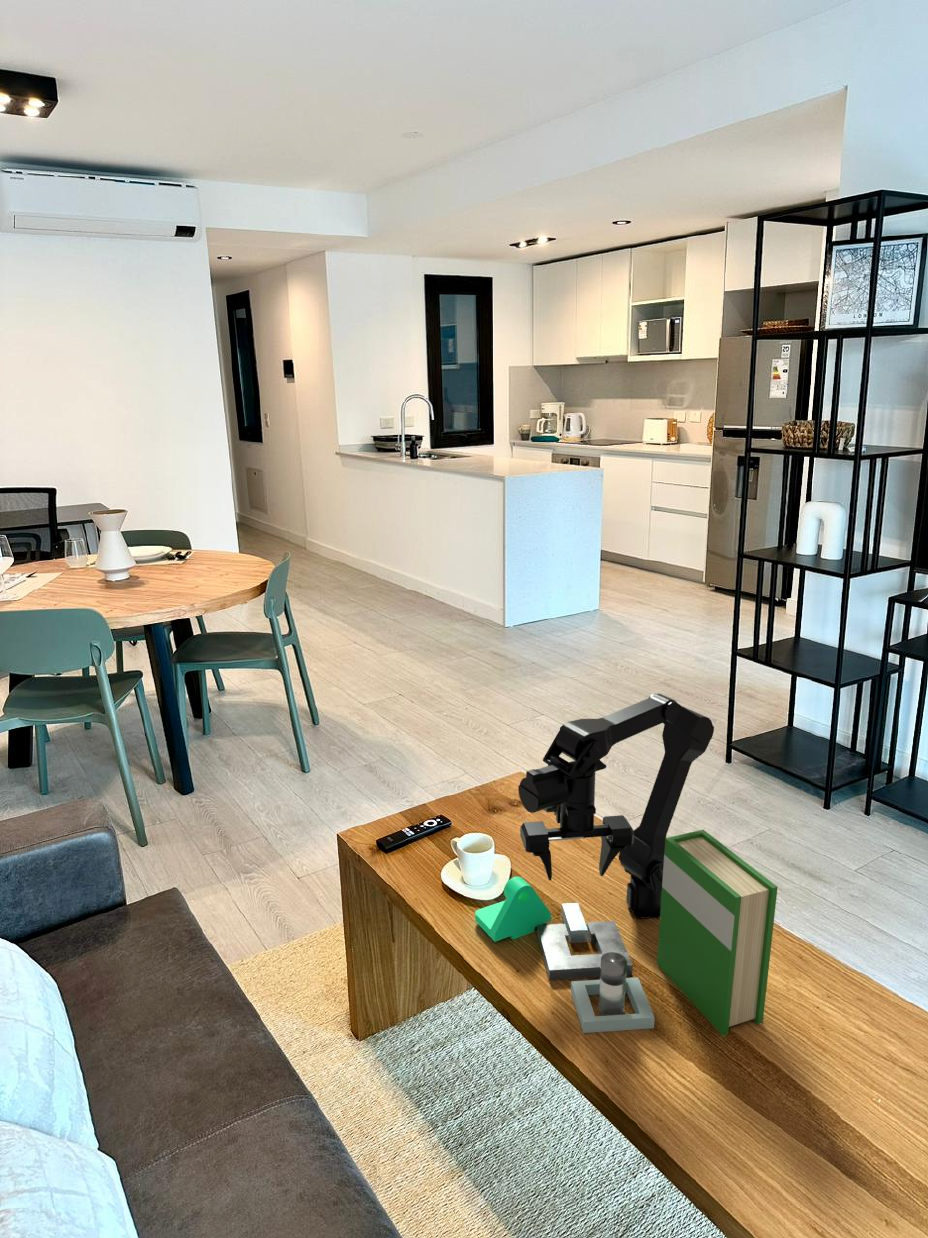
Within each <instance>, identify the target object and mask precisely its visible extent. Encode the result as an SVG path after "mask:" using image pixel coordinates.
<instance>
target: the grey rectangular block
mask: <svg viewBox="0 0 928 1238" xmlns="http://www.w3.org/2000/svg"><path fill="white" fill-rule="evenodd" d="M561 918H562V921H563V924H565V925H566V929H567V932H568V935H569V940H568V941H569V942H570V944H576V943H587V942H588V929H587V923H586V921H585V918H584V916H583V913H582V911H581V907H580V904H579V903H578V902H573V903H572V902H571V903H561Z"/></svg>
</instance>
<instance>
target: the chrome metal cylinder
mask: <svg viewBox="0 0 928 1238" xmlns="http://www.w3.org/2000/svg"><path fill="white" fill-rule="evenodd" d="M626 972H627V960H626V958H625V957H624V956H623V955H621V954H619V953H615V952H609V953H605V954H604V955H603V956H602V957H601V967H600V977H599V980H600V988H599V995H598V1011H599V1013H600V1014H601V1016H610V1015H625V1014H624V1013H625V1006H626V1005H625V1003H626V1002H625V1001H626V993H625V989H626V978H627V976H626Z"/></svg>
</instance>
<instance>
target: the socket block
mask: <svg viewBox="0 0 928 1238" xmlns="http://www.w3.org/2000/svg"><path fill="white" fill-rule="evenodd" d="M586 926H587V929H588V936H587V939H588V940H589V943H590V945H591V944H594V945H595V948H596V952H597V953H591V954H577V955H575V954H574V955H573V954H571V951H570V947H569V941H570V940H569V935H568V932H567V929H566V925H565V924H564V923H552V924H549V923H548V924H542V925H537V927H536V936H537V940H538V943H539V947H540V952H541V954H542V958H543V959H542V960H543V962H544V965H545V969H546V973H547V977H548V981H561V980H562V981H563V980H576V979H577V980H578V979H591V978H592V979H594V978H595V979H596V978H600V967H601V957H602V956H603V955H604V954H605V953H609V952H615V953H619V954H621V955H623V956H624V957H625V958H626V960H627V972H626V977H627V976H633V971H634V970H633V967H634V965H633V962H632V960H631V957H630V955H629V953H628V950H627V948H626V945H625V943H624V941H623V939H622V936H621V933H620V931H619V929H618V926H617V924H616V922H615V920H608V921H605V920H604V921H603V920H602V921H591V922H590V921H588V922H586Z"/></svg>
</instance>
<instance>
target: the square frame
mask: <svg viewBox="0 0 928 1238" xmlns="http://www.w3.org/2000/svg"><path fill="white" fill-rule="evenodd" d="M599 988H600V979H590V980H577V981H576V980H574V981H570V993H571V997H572V1000H573V1003H574V1007H575V1011H576V1014H577V1016H578V1017H577V1018H578V1021H579V1023H580V1027H581V1030H582V1033H583V1034H588V1033H589V1034H590V1033H605V1032H615V1031H616V1032H619V1031H633V1030H635V1031H636V1030H646V1029H655V1019H656V1018H655V1015H654V1012H653V1010H652V1008H651V1005H650V1002H649V1001H648V998H647V996H646V993H645V991H644V988H643V985H642V984H641V981H640V979H639V977H635V976H634V977H626V989H625V994H627V996H628V1000H629V1001H630V1004H631V1006H632V1010H633V1012H634V1013H627V1014H626V1013H625V1014H623V1015H610V1016H603V1015H598V1016H596V1015H595V1012H594V1009H593V1007H592V1006H593V1005H592V1003H591V1000H590V997H589V996H599Z"/></svg>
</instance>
